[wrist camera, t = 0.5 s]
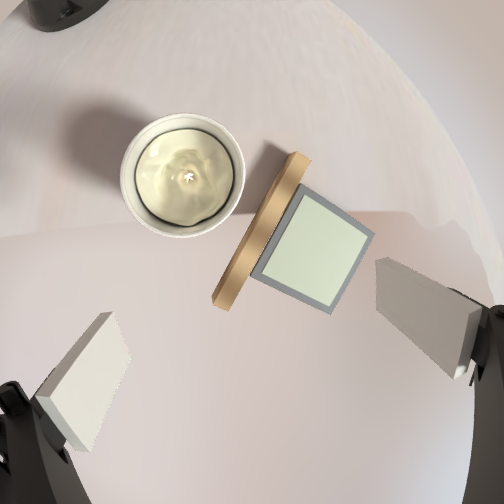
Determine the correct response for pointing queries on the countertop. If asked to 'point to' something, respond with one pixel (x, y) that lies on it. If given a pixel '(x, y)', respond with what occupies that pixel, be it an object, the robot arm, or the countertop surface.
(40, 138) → the countertop surface
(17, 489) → the robot arm
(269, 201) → the brown wooden bar
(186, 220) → the candle holder
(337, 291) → the square tile
